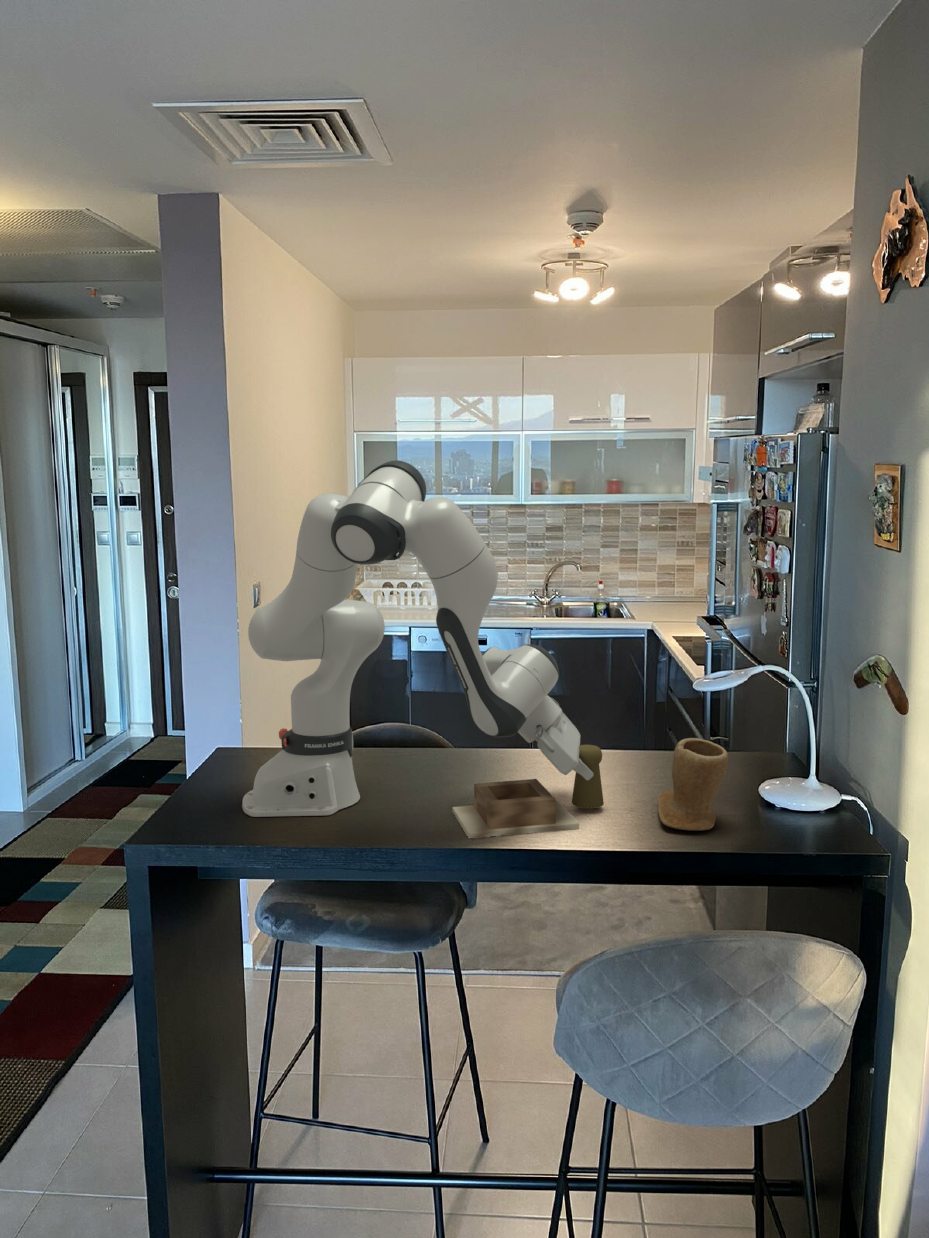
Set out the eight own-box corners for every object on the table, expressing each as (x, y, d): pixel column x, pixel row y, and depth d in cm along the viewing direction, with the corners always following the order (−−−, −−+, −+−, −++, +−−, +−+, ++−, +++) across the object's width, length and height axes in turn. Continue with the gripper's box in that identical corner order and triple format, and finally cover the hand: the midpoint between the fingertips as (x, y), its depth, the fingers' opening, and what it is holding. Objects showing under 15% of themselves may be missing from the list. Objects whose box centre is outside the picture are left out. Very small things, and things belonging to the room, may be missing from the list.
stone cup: (728, 838, 166) (730, 753, 163) (657, 833, 168) (659, 750, 166) (722, 808, 180) (724, 730, 178) (657, 805, 183) (659, 728, 180)
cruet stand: (468, 838, 166) (468, 808, 166) (452, 812, 180) (452, 783, 179) (579, 828, 171) (579, 798, 170) (554, 803, 184) (554, 775, 183)
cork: (594, 795, 184) (595, 740, 183) (609, 806, 179) (610, 748, 177) (565, 799, 182) (566, 743, 181) (580, 810, 177) (581, 752, 175)
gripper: (548, 722, 169) (603, 778, 169) (553, 696, 189) (603, 746, 189) (522, 746, 170) (577, 802, 170) (530, 717, 190) (580, 767, 190)
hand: (591, 772), depth 180 cm, fingers closed on cork, 4 cm apart
